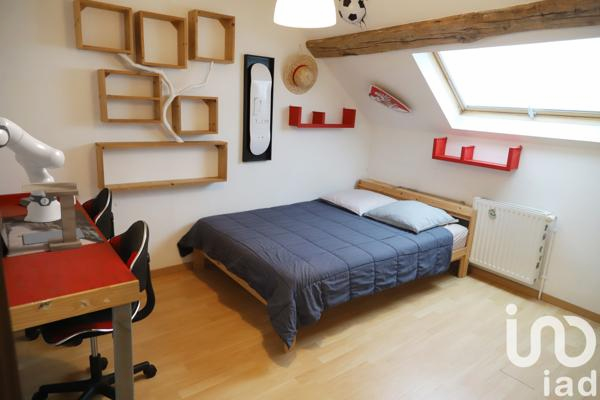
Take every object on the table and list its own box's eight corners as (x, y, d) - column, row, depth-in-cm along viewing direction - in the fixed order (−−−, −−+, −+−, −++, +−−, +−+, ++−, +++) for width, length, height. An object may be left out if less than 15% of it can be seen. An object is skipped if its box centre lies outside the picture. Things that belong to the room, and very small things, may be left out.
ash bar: (22, 190, 173) (21, 183, 172) (75, 187, 185) (75, 181, 184) (22, 192, 171) (22, 185, 170) (76, 188, 182) (76, 182, 182)
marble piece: (35, 209, 238) (34, 202, 238) (14, 207, 242) (13, 200, 241) (57, 203, 254) (57, 196, 253) (38, 201, 257) (37, 194, 257)
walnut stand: (48, 243, 187) (43, 187, 181) (77, 239, 194) (74, 185, 188) (50, 251, 178) (46, 192, 172) (81, 247, 185) (78, 190, 179)
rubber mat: (23, 235, 195) (22, 234, 195) (79, 228, 209) (79, 227, 209) (24, 245, 183) (24, 244, 183) (84, 237, 197) (84, 237, 196)
